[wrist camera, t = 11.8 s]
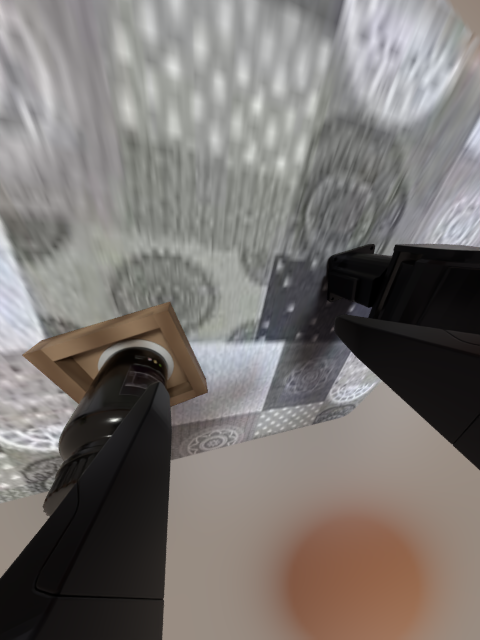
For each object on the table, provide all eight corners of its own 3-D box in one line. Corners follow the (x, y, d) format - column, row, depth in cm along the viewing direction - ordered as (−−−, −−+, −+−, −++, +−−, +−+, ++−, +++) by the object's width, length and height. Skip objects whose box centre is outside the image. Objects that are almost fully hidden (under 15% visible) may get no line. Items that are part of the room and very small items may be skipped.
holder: (169, 301, 19) (167, 310, 17) (206, 379, 25) (207, 392, 23) (41, 340, 17) (22, 355, 15) (115, 413, 24) (109, 430, 22)
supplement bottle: (145, 395, 23) (111, 530, 12) (91, 372, 19) (-19, 533, 9) (181, 362, 22) (177, 477, 12) (131, 332, 18) (62, 458, 8)
